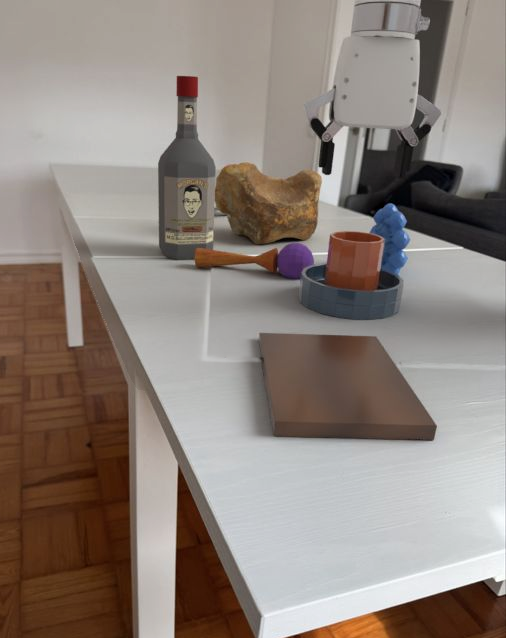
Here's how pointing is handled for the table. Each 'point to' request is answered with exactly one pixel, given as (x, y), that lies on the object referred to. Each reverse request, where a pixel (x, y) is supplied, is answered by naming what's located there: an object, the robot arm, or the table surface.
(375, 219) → the grapes
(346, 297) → the bowl
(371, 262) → the cup
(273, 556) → the table surface
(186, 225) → the liquor
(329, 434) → the board
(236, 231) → the rough brown rock
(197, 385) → the table surface
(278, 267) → the kendama
